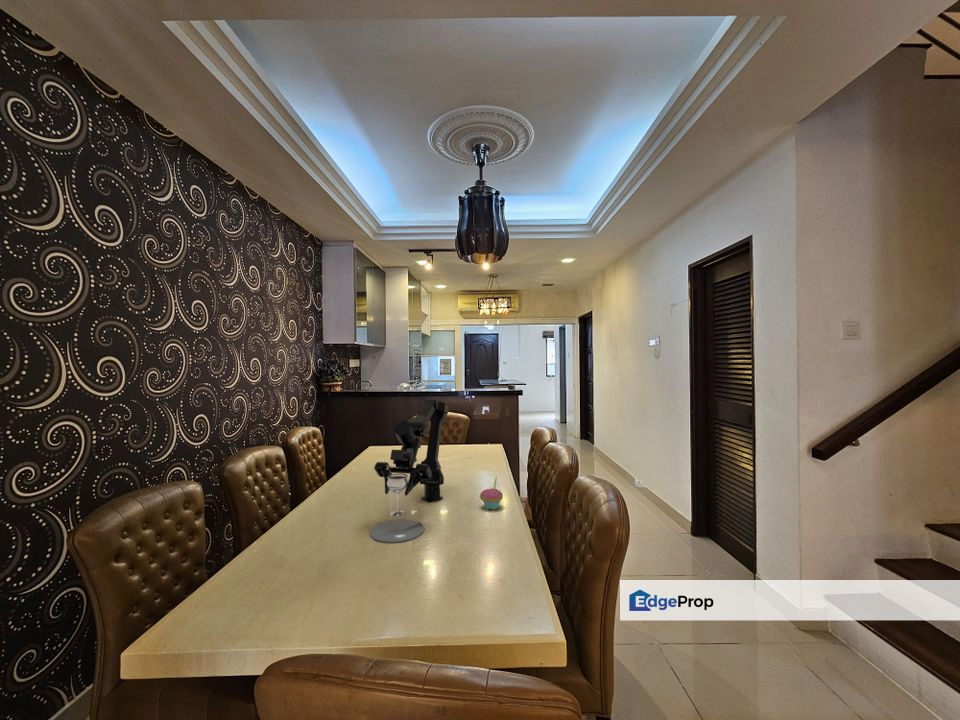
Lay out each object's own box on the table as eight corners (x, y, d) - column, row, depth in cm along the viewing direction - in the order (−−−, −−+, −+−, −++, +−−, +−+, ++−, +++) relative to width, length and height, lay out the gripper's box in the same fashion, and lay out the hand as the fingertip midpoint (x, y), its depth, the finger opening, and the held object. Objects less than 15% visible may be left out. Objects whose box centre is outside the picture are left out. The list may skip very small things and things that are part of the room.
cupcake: (503, 504, 160) (503, 473, 160) (502, 512, 151) (502, 479, 151) (481, 504, 160) (480, 472, 161) (478, 511, 152) (478, 479, 152)
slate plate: (361, 531, 136) (361, 528, 136) (406, 517, 147) (406, 515, 147) (387, 548, 123) (387, 545, 123) (434, 532, 134) (434, 529, 134)
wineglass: (396, 519, 130) (396, 480, 130) (382, 514, 134) (382, 477, 134) (412, 512, 136) (412, 475, 136) (398, 508, 140) (398, 472, 140)
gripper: (376, 438, 141) (360, 480, 130) (428, 440, 137) (416, 483, 126) (386, 455, 149) (372, 497, 138) (436, 458, 144) (425, 500, 134)
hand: (395, 494), depth 134 cm, fingers closed on wineglass, 6 cm apart
